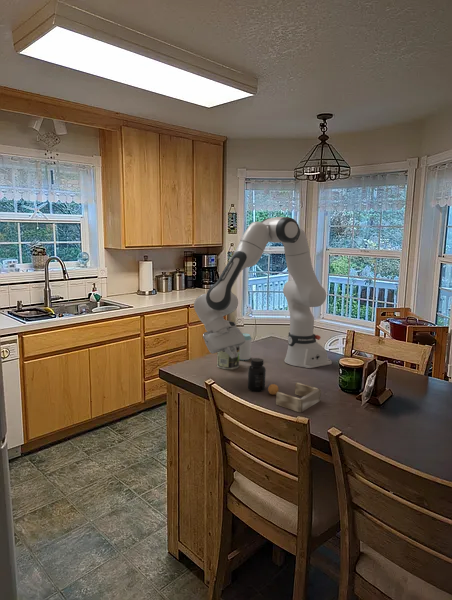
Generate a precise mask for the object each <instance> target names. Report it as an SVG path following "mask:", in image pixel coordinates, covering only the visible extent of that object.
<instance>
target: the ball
mask: <svg viewBox="0 0 452 600" xmlns="http://www.w3.org/2000/svg"><path fill="white" fill-rule="evenodd" d="M267 391H268V393H269V394H270V395H272V396H274V395H275V396H276V393H277V392H280V391H279V386H278V385H277V384H276V383H275V384H274V383H273V384H269V386H268V387H267Z"/></svg>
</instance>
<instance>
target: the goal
mask: <svg viewBox="0 0 452 600" xmlns="http://www.w3.org/2000/svg"><path fill="white" fill-rule="evenodd" d="M321 393H322V388H318V387H314V386H310V385H307V384H304V383H301V382H295V387H294V395H297V396H299V397H301V398H299V397H296V396H293V395H290V394H286V393H284V392H280V391H278V392H277V393H276V394H275V405H276V406H280V407H283V408H285V409H289V410H291V411H294V412H296V413H297V412H298V413H303V412H305V411H306V410H308V409H309V408H311V407H312V406H314V405H316V404H317V403H320V401H321V397H322V396H321V395H322V394H321Z"/></svg>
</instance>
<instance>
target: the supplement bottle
mask: <svg viewBox="0 0 452 600" xmlns="http://www.w3.org/2000/svg"><path fill="white" fill-rule="evenodd" d="M250 360H251V361H250V365H249V366H248V367H247V368H248V370H247V372H248V374H247V389H248V390H249V391H251V392H256V393H257V392H258V393H259V392H263V391H265V390H266V373H267V372H266V371H267V370H266V369H267V368H266V367H265V366H264V359H262V358H259V357H256V358H250Z"/></svg>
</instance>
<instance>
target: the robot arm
mask: <svg viewBox="0 0 452 600" xmlns="http://www.w3.org/2000/svg"><path fill="white" fill-rule="evenodd" d="M238 242H239V243H238V244H237V245H236V248H235V250H234V252H233V253H232V254H231V255H232V256H231V257H230V259H229V260H228V262H227V263H226V265H225V267H224V269H223V271H222V273H220V276H219V277H218V279H217V281H216V282H215V283H213V285H211V287H209V289H208V290H207V292H206V293H203V294H200V295H199V296H198V297H196V299H194V300H195V301H194V302H193V309H194V312H195V313H196V315H197V317H198V319H199V321H200V322H201V323H202V324H203V325H204V329H205V330H206V331H205V332H203V334H202V339H203V340H204V344H205V345H206V347H207V350H208V351H209V353H211V355H213V354H217V352H221V351H225V352H226V353H227V354H228V355H230V357H231V358H235V357H237V356H238V353H237V350H236V347H238V346H241V345H242V344H243V343H244V342H245V337H244V336H243V334H242V331H241V329H239V328H238V327H237V323H236V322H235V321H230V320H227V319H225V318H224V317H226V316H227V315H230V314H232V313H233V312H235V311H236V309H237V308H238V305H239V299H238V297H237V295H235V294H234V293H233V292H232V290H233V287H234V284H235V283H236V282H237V279H238V278H239V276H240V274H241V272H242V271H243V270H245V269H247V268H251V267H254V266H256V265H257V264H258V262H259V261H260V259H261V257H262V256H263V254H264V251H265V249H266V247H267V245H268V244H269V243H274V244H275V243H276V244H279V243H281V244H282V245H283V248H284V250H283V251H284V255H285V256H284V257H285V263H286V268H287V271H288V273H289V274H290V276H291V277H292V279H291V280H288V281H286V282H285V283H284V285H283V287H282V293H283V295H284V297H285V300H286V302H287V307H288V311H289V332H288V337H287V344H288V346H287V351H286V355H285V358H284V360H283V361H284V362H285V363H286V364H288V365H290V366H293V367H301V368H306V369H314V368H317V367H324V366H328V365H329V366H330V365H332V363H333V362H332V361H333V360H331V359H330V358H328V353H327V350H326V348H325V347H323V345H321V344H320V343H318V341H319V340H321V338H322V337H321V335H318V334H315V333H314V327H315V326H314V325H315V317H314V314H312V311H311V308H317V307H321V306H322V305H324V304H325V302H326V298H327V292H326V289H325V288H324V287H323V286H322V285H321V283H320V282H319V279H318V277H317V275H316V273H315V270H314V268H313V265H312V264H313V262H312V258H311V252H310V246H309V242H308V239H307V235H306V233H305V231H304V230H303V229H302V228H300V226H299V223H298V222H297V220H295V219H294V218H292V217H289V216H275V217H274V216H273V217H268V218H264V219H263V220H261V221H253V222H250V224H249V225H248V226H247V228H246V230H244V233H243V234H242V236H241V238H240V239H239V241H238ZM317 340H318V341H317Z"/></svg>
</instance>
